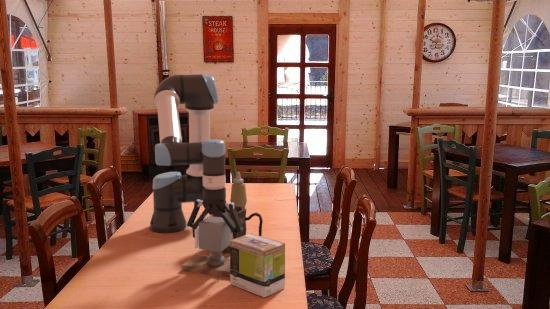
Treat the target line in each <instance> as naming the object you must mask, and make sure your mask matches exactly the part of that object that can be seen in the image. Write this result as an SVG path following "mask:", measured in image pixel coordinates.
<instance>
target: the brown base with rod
mask: <svg viewBox="0 0 550 309" xmlns="http://www.w3.org/2000/svg"><path fill="white" fill-rule="evenodd" d="M208 251H209V255H203V254H195V255H193V256H192V257H191V258H189V259H188V260H187V261H185V262H183V264H181V270H182V271H183V272H187V271H188V272H187V273H189V272H190V273H194V272H195V273H196V274H201V273H202V274H203V275H208V274H209V276H216V277H222V278H228V279H230V258H225V256H224V255H222V253H221V252H218V251H211V250H208ZM195 273H194V274H195Z"/></svg>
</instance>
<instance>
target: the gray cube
mask: <svg viewBox="0 0 550 309" xmlns="http://www.w3.org/2000/svg"><path fill="white" fill-rule="evenodd" d="M198 227H199V247H198V250H205V251H209V250H211V251H218V252H222V251H223V250H224V249H225V248H227V247H228V246H229V245H230V234H231V230H230V228H229V227H228V225H227V224H226V223H225V221H224V220H223V218H222V217H213V216H212V215H209V216H206V217H205V218H204V219H203V220H202V221H201V222H199V226H198Z"/></svg>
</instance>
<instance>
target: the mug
mask: <svg viewBox="0 0 550 309" xmlns="http://www.w3.org/2000/svg"><path fill="white" fill-rule="evenodd" d="M225 209H226V211H227V212H228V215H229V216H230V218H231V219H232V217H231V214H230V212H229V210H228V208H227V207H226V208H225ZM235 209H236V211H237V214H238V216H239V218H240V221H241V223H242V225H243V228H244V229H243V230H242V231H241V232H238V238H239V237H242V236H245V235H247V221H250V220H251V219H252V218H253V217H258V218H259V222H258V223H259V225H258V236H262V233H263V221H264V220H263V218H262V217H263V216H262V214H260V213H258V212H253V213H251V214H250V215H249V216H246V215H247V209H246V206H245V207H244V206H239V205H235ZM222 213H223V212H222ZM211 216H213V217H220V215H214V214H212V215H211ZM232 221H233V219H232ZM233 222H234V221H233ZM231 233H232V231H231ZM262 237H263V236H262ZM221 254H224V255H227V254H228V255H230V245H229V246H228V247H227V248H225V249H224V250H223V251H222V252H221Z"/></svg>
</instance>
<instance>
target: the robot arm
mask: <svg viewBox="0 0 550 309" xmlns="http://www.w3.org/2000/svg"><path fill="white" fill-rule="evenodd" d="M217 89H218V88H217V82H216V80H215V78H214V76H213V75H210V74H203V73H201V74H198V73H196V74H172V75H170V76H167V77H165V79H163V80H162V81H161V82H160V83H159V84H158V86H157V87H156V88H155V90H154V91H155V92H154V95H153V100H154V102H153V103H154V105H155V107H156V108H157V120H158V131H159V132H158V133H159V143H156V144H155V145H154V155H155V156H154V157H155V158H154V159H155V164H156V165H157V166H165V167H166V166H167V167H170V166H171V167H173V166H186V165H187V166H188V165H189V166H188V168H187V169H186V170H185V171H186V172H185V174H184V175H182V173H181V172H180V171H168V172H163V173H160V174H157V175H155V177H153V179H152V187H151V188H152V193H153V196H152V197H153V198H152V199H153V212H152V216H151V220H150V224H149V228H150V230H151V231H152V232H155V233H163V234H164V233H165V234H166V233H176V232H180V231H182V230H185V229H186V228H187V227H190V228H191V230H192V238H194V248H195V249H199V222H201V221H202V220H204V219H205V218H207V215H209V216H212V214H214V215H220V217H222V218H223V220H224V221H225V223H226V224H227V225H228V227H229V228H230V230H231V231H232V233H231V234H230V240H233V239H236V238H238V232H241V231H242V230H243V229H244V228H243V225H242V223H241V221H240V218H239V216H238V214H237V211H236V209H235V203H234V202H232V203H231V202H227V192H226V191H227V189H226V187H225V186H226V185H227V183H226V180H227V179H226V153H227V152H226V151H227V150H226V142H225V141H224V140H223V139H218V138H216V139H215V138H211V113H212V111H213V110H214V109H215V105H216V104H218V103H219V102H218V101H219V96H218V90H217ZM179 105H184V109H185V110H186V111H187V112H188V126H189V127H188V131H189V132H188V134H189V136H188V138H189V139H188V140H189V141H188V142H183V140H182V139H183V138H182V129H181V122H180V114H179ZM183 203H184V204H185V203H193V208H192V211H191V214H190V216H189V218H188V221H187V219H186V216H185V214H184V211H183V207H182V206H183V205H182V204H183ZM201 207H203V208H204V210H203V211H202V212H201V213H200V215H199V216H198V213H199V211H200V210H201V209H200V208H201ZM226 207H227V208H228V210H229V212H230V214H231V217H232V219H233V221H234V222H233V221H232V219H231V218H230V216H229V215H228V212H227V211H226V209H225V208H226ZM222 212H223V213H222ZM197 216H198V217H197ZM196 218H197V219H196Z"/></svg>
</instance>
